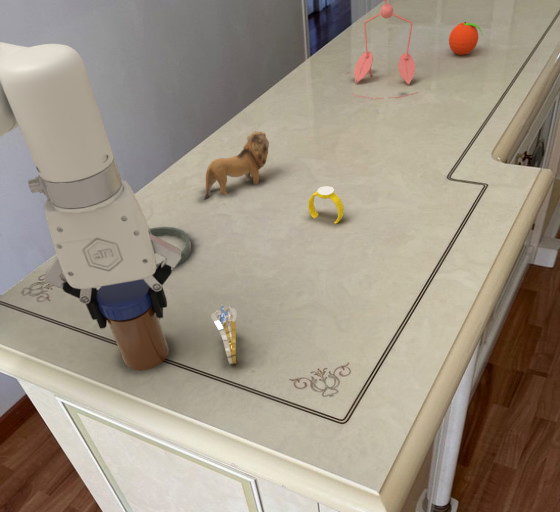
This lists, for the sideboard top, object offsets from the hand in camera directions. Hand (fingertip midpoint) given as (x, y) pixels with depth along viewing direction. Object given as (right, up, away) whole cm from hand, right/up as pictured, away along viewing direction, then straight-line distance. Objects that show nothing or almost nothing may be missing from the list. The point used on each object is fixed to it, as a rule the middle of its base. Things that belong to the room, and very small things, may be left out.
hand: (132, 315), depth 73 cm
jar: (+1, -5, +5) cm, 8 cm away
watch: (+26, +18, +25) cm, 40 cm away
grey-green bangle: (-2, +12, +22) cm, 25 cm away
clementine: (+64, +72, +73) cm, 121 cm away
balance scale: (+42, +59, +63) cm, 96 cm away
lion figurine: (+11, +27, +36) cm, 46 cm away
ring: (+12, -5, +4) cm, 14 cm away
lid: (0, +2, -2) cm, 3 cm away
